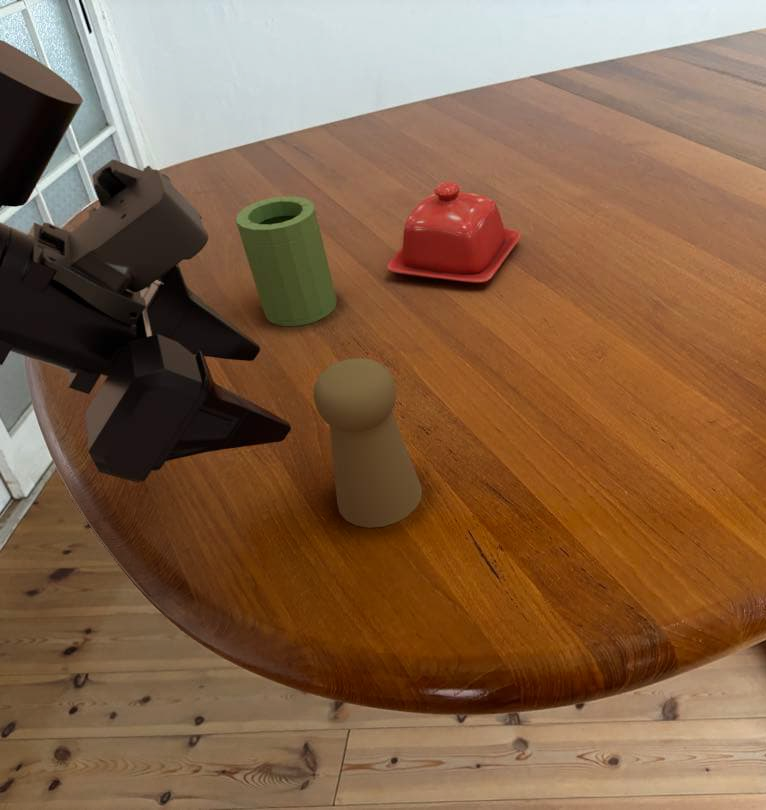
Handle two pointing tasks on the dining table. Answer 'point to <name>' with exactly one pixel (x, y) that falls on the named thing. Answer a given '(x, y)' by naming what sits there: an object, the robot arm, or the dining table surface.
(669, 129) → the dining table surface
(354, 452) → the tan peg doll
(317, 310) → the green cylindrical container
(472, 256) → the butter dish
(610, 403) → the dining table surface
